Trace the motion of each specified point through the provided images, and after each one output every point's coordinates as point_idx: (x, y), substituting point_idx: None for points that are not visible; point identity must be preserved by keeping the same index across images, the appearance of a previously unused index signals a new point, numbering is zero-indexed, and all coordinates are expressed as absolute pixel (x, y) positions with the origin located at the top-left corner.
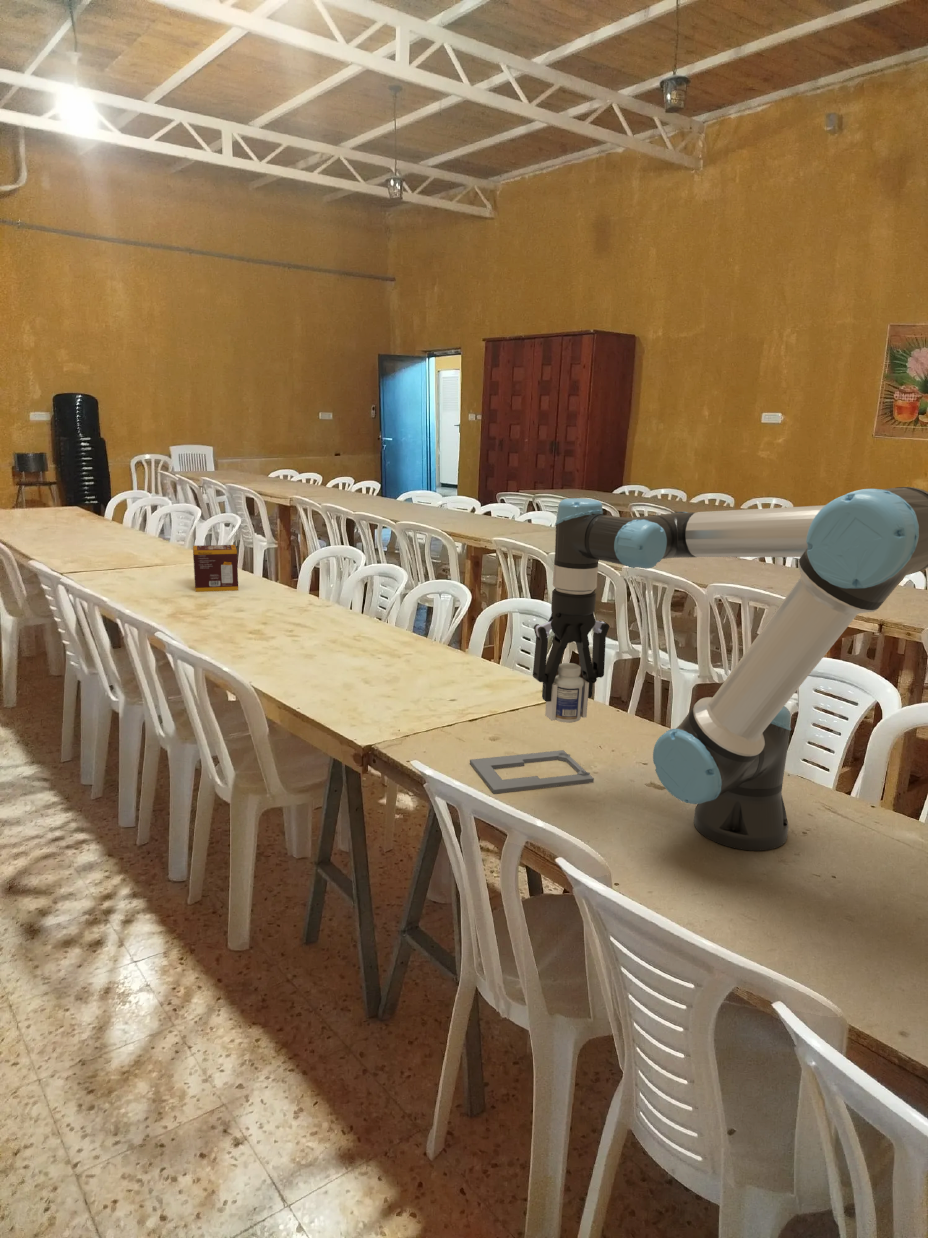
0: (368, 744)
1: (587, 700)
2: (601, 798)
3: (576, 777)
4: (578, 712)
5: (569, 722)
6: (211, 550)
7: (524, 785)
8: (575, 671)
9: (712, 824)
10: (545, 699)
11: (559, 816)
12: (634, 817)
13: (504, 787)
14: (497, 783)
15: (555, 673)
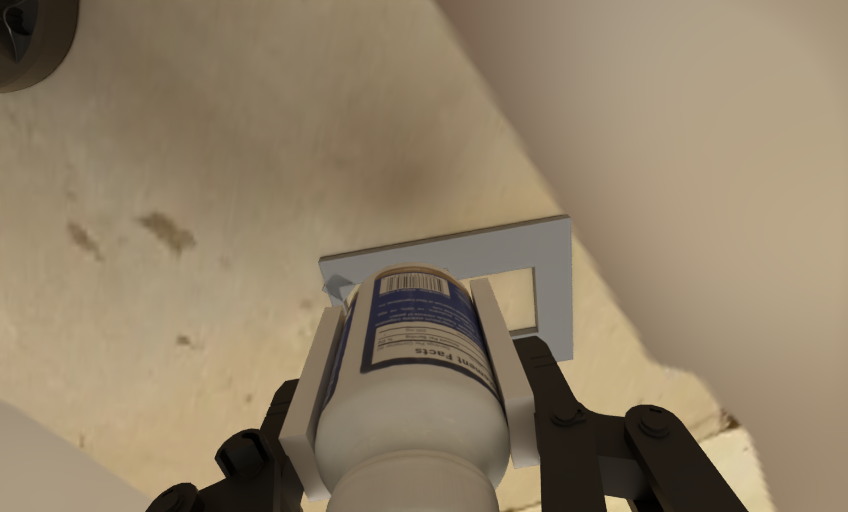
0: (731, 431)
1: (308, 356)
2: (316, 176)
3: (359, 269)
4: (367, 293)
5: (411, 262)
6: None
7: (493, 235)
8: (383, 494)
9: None
10: (544, 343)
11: (445, 84)
12: (247, 60)
13: (543, 228)
14: (552, 249)
15: (549, 478)
